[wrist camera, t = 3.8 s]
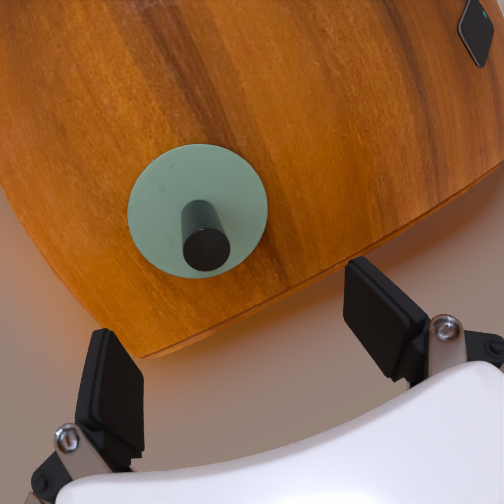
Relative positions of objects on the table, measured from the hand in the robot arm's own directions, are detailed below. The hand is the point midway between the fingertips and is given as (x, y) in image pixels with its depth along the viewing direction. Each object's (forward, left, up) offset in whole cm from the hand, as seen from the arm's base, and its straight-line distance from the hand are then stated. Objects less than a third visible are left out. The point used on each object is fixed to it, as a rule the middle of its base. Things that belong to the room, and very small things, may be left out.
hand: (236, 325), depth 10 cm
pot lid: (0, 0, -13) cm, 13 cm away
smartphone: (+44, +22, -14) cm, 51 cm away
